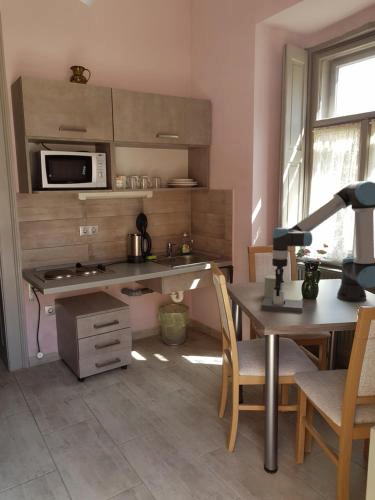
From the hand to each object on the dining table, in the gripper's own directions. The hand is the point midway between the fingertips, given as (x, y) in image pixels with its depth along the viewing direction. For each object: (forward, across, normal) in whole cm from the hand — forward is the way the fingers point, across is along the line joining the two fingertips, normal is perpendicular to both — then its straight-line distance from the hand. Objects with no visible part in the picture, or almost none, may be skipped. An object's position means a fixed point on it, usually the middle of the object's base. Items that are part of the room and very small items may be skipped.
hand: (278, 298), depth 207 cm
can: (+5, -20, -5) cm, 21 cm away
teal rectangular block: (+4, 0, 0) cm, 4 cm away
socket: (+5, 0, +2) cm, 5 cm away
